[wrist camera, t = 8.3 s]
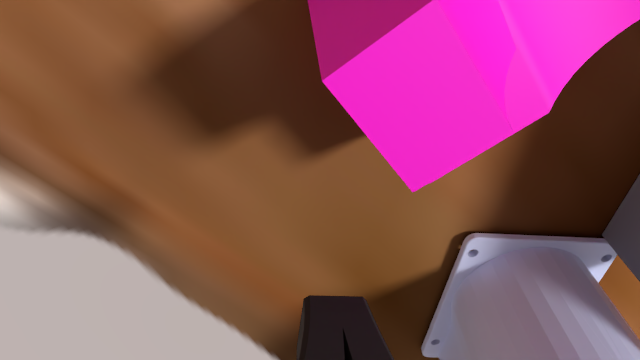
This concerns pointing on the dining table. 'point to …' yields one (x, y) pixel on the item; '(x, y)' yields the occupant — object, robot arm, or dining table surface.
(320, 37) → the toy block
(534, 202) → the dining table surface
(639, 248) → the backstop wall
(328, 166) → the dining table surface
